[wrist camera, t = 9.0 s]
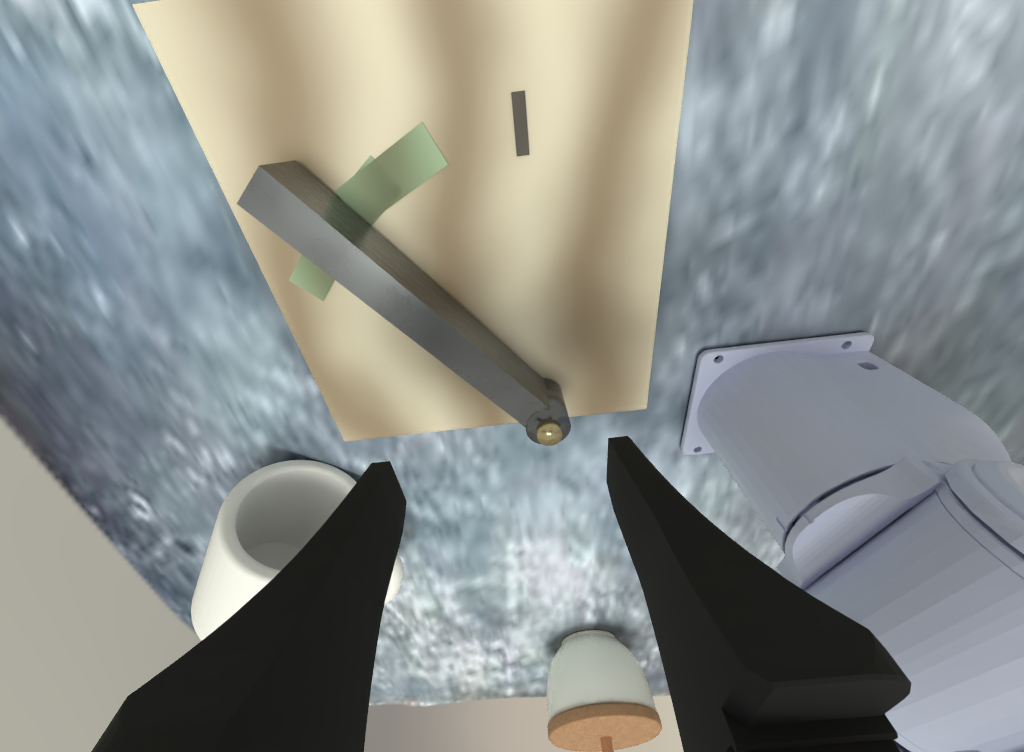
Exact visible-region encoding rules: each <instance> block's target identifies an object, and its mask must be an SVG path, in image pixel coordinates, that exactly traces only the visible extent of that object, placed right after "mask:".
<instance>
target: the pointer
mask: <svg viewBox="0 0 1024 752" xmlns="http://www.w3.org/2000/svg"><path fill="white" fill-rule="evenodd" d="M237 205H239V206H240V207H241V208H243V209H244V210H245V211H246V212H248V213H249V214H250V215H252V216H253V217H254V218H256V219H257V220H258V221H259V222H261V223H262V224H263V225H265V226H266V227H267V228H268V229H270V230H271V231H272V232H274V233H275V234H276V235H278V236H279V237H280V238H281V239H283V240H284V241H285V242H287V243H288V244H289V245H290V246H292V247H293V248H294V249H296V250H297V251H298V252H299V253H301V254H302V255H303V256H305V257H306V258H307V259H309V260H310V261H311V262H312V263H314V264H315V265H316V266H318V267H319V268H320V269H321V270H323V271H324V272H325V273H327V274H328V275H329V276H330V277H332V278H333V279H334V280H336V281H337V282H338V283H340V284H341V285H342V286H343V287H345V288H346V289H347V290H349V291H350V292H351V293H352V294H354V295H355V296H356V297H358V298H359V299H360V300H362V301H363V302H364V303H365V304H367V305H368V306H369V307H371V308H372V309H373V310H374V311H376V312H377V313H378V314H380V315H381V316H382V317H383V318H385V319H386V320H387V321H389V322H390V323H391V324H393V325H394V326H395V327H396V328H398V329H399V330H400V331H402V332H403V333H404V334H405V335H407V336H408V337H409V338H411V339H412V340H413V341H414V342H416V343H417V344H418V345H420V346H421V347H422V348H424V349H425V350H426V351H427V352H429V353H430V354H431V355H433V356H434V357H435V358H436V359H438V360H439V361H440V362H442V363H443V364H444V365H446V366H447V367H448V368H449V369H451V370H452V371H453V372H455V373H456V374H457V375H458V376H460V377H461V378H462V379H464V380H465V381H466V382H467V383H469V384H470V385H471V386H473V387H474V388H475V389H477V390H478V391H479V392H480V393H482V394H483V395H484V396H486V397H487V398H488V399H489V400H491V401H492V402H493V403H495V404H496V405H497V406H499V407H500V408H501V409H502V410H504V411H505V412H506V413H508V414H509V415H510V416H511V417H513V418H514V419H515V420H517V421H518V422H519V423H520V424H522V425H523V426H524V427H526V432H527V435H528V437H529V438H530V439H531V440H532V441H534V442H536V443H538V444H543V445H546V446H552V445H555V444H557V443H559V442H560V441H561V440H563V439H564V438H565V437H566V436H567V435H568V434H569V432H570V428H571V424H570V420H569V416H568V412H567V408H566V404H565V401H564V397H563V393H562V389H561V387H560V385H559V384H558V383H557V382H555V381H554V380H551V379H547V378H542V377H541V376H540V375H539V374H538V373H537V372H536V371H534V370H533V369H532V368H531V367H530V366H529V365H528V364H527V363H525V362H524V361H523V360H522V359H521V358H520V357H519V356H517V355H516V354H515V353H514V352H513V351H512V350H511V349H509V348H508V347H507V346H506V345H505V344H504V343H503V342H502V341H500V340H499V339H498V338H497V337H496V336H495V335H494V334H492V333H491V332H490V331H489V330H488V329H487V328H486V327H484V326H483V325H482V324H481V323H480V322H479V321H478V320H477V319H475V318H474V317H473V316H472V315H471V314H470V313H469V312H467V311H466V310H465V309H464V308H463V307H462V306H461V305H459V304H458V303H457V302H456V301H455V300H454V299H453V298H452V297H450V296H449V295H448V294H447V293H446V292H445V291H444V290H442V289H441V288H440V287H439V286H438V285H437V284H436V283H434V282H433V281H432V280H431V279H430V278H429V277H428V276H427V275H425V274H424V273H423V272H422V271H421V270H420V269H419V268H417V267H416V266H415V265H414V264H413V263H412V262H411V261H409V260H408V259H407V258H406V257H405V256H404V255H403V254H402V253H400V252H399V251H398V250H397V249H396V248H395V247H394V246H392V245H391V244H390V243H389V242H388V241H387V240H386V239H384V238H383V237H382V236H381V235H380V234H379V233H378V232H377V231H375V230H374V229H373V228H372V227H371V226H370V225H369V224H367V223H366V222H365V221H364V220H363V219H362V218H361V217H359V216H358V215H357V214H356V213H355V212H354V211H353V210H352V209H350V208H349V207H348V206H347V205H346V204H345V203H344V202H342V201H341V200H340V199H339V198H338V197H337V196H336V195H334V194H333V193H332V192H331V191H330V190H329V189H328V188H327V187H325V186H324V185H323V184H322V183H321V182H320V181H319V180H317V179H316V178H315V177H314V176H313V175H312V174H311V173H309V172H308V171H307V170H306V169H305V168H304V167H303V166H302V165H300V164H299V163H298V162H297V161H296V160H293V161H286V162H280V163H273V164H266V165H259V166H258V168H257V170H256V171H255V173H254V175H253V176H252V178H251V180H250V182H249V183H248V185H247V187H246V188H245V190H244V192H243V193H242V195H241V197H240V199H239V200H238V202H237Z"/></svg>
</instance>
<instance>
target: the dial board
mask: <svg viewBox="0 0 1024 752" xmlns="http://www.w3.org/2000/svg"><path fill="white" fill-rule="evenodd" d="M693 1H694V0H160V1H153V2H146V3H139V4H132V5H133V7H134V9H135V12H136V14H137V16H138V18H139V20H140V22H141V24H142V26H143V28H144V30H145V32H146V34H147V36H148V38H149V40H150V42H151V44H152V46H153V48H154V51H155V53H156V55H157V57H158V59H159V61H160V63H161V65H162V67H163V69H164V71H165V73H166V75H167V77H168V79H169V81H170V83H171V85H172V88H173V90H174V92H175V94H176V96H177V98H178V100H179V102H180V104H181V106H182V108H183V110H184V112H185V114H186V116H187V118H188V120H189V122H190V125H191V127H192V129H193V131H194V133H195V135H196V137H197V139H198V141H199V143H200V145H201V147H202V149H203V151H204V153H205V155H206V157H207V159H208V162H209V164H210V166H211V168H212V170H213V172H214V174H215V176H216V178H217V180H218V182H219V184H220V186H221V188H222V190H223V192H224V194H225V196H226V199H227V201H228V203H229V205H230V207H231V209H232V211H233V213H234V215H235V217H236V219H237V221H238V223H239V225H240V227H241V229H242V231H243V233H244V235H245V238H246V240H247V242H248V244H249V246H250V248H251V250H252V252H253V254H254V256H255V258H256V260H257V262H258V264H259V266H260V268H261V270H262V272H263V275H264V277H265V279H266V281H267V283H268V285H269V287H270V289H271V291H272V293H273V295H274V297H275V299H276V301H277V303H278V305H279V307H280V309H281V312H282V314H283V316H284V318H285V320H286V322H287V324H288V326H289V328H290V330H291V332H292V334H293V336H294V338H295V340H296V342H297V344H298V346H299V349H300V351H301V353H302V355H303V357H304V359H305V361H306V363H307V365H308V367H309V369H310V371H311V373H312V375H313V377H314V379H315V381H316V383H317V385H318V388H319V390H320V392H321V394H322V396H323V398H324V400H325V402H326V404H327V406H328V408H329V410H330V412H331V414H332V416H333V418H334V420H335V422H336V425H337V427H338V429H339V431H340V433H341V435H342V437H343V439H344V441H353V440H362V439H371V438H381V437H390V436H399V435H408V434H418V433H427V432H436V431H445V430H455V429H464V428H473V427H483V426H492V425H501V424H510V423H519V422H518V421H517V420H515V419H514V418H513V417H511V416H510V415H509V414H508V413H506V412H505V411H504V410H502V409H501V408H500V407H499V406H497V405H496V404H495V403H493V402H492V401H491V400H489V399H488V398H487V397H486V396H484V395H483V394H482V393H480V392H479V391H478V390H477V389H475V388H474V387H473V386H471V385H470V384H469V383H467V382H466V381H465V380H464V379H462V378H461V377H460V376H458V375H457V374H456V373H455V372H453V371H452V370H451V369H449V368H448V367H447V366H446V365H444V364H443V363H442V362H440V361H439V360H438V359H436V358H435V357H434V356H433V355H431V354H430V353H429V352H427V351H426V350H425V349H424V348H422V347H421V346H420V345H418V344H417V343H416V342H414V341H413V340H412V339H411V338H409V337H408V336H407V335H405V334H404V333H403V332H402V331H400V330H399V329H398V328H396V327H395V326H394V325H393V324H391V323H390V322H389V321H387V320H386V319H385V318H383V317H382V316H381V315H380V314H378V313H377V312H376V311H374V310H373V309H372V308H371V307H369V306H368V305H367V304H365V303H364V302H363V301H362V300H360V299H359V298H358V297H356V296H355V295H354V294H352V293H351V292H350V291H349V290H347V289H346V288H345V287H343V286H342V285H341V284H340V283H338V282H337V281H336V280H334V279H333V278H332V277H330V276H329V275H328V274H327V273H325V272H324V271H323V270H321V269H320V268H319V267H318V266H316V265H315V264H314V263H312V262H311V261H310V260H309V259H307V258H306V257H305V256H303V255H302V254H301V253H299V252H298V251H297V250H296V249H294V248H293V247H292V246H290V245H289V244H288V243H287V242H285V241H284V240H283V239H281V238H280V237H279V236H278V235H276V234H275V233H274V232H272V231H271V230H270V229H268V228H267V227H266V226H265V225H263V224H262V223H261V222H259V221H258V220H257V219H256V218H254V217H253V216H252V215H250V214H249V213H248V212H246V211H245V210H244V209H243V208H241V207H240V206H239V205H237V202H238V200H239V199H240V197H241V195H242V193H243V192H244V190H245V188H246V187H247V185H248V183H249V182H250V180H251V178H252V176H253V175H254V173H255V171H256V170H257V168H258V166H259V165H266V164H273V163H280V162H286V161H293V160H296V161H297V162H298V163H299V164H300V165H302V166H303V167H304V168H305V169H306V170H307V171H308V172H309V173H311V174H312V175H313V176H314V177H315V178H316V179H317V180H319V181H320V182H321V183H322V184H323V185H324V186H325V187H327V188H328V189H329V190H330V191H331V192H332V193H333V194H334V195H336V196H337V197H338V198H339V199H340V200H341V201H342V202H344V203H345V204H346V205H347V206H348V207H349V208H350V209H352V210H353V211H354V212H355V213H356V214H357V215H358V216H359V217H361V218H362V219H363V220H364V221H365V222H366V223H367V224H369V225H370V226H371V227H372V228H373V229H374V230H375V231H377V232H378V233H379V234H380V235H381V236H382V237H383V238H384V239H386V240H387V241H388V242H389V243H390V244H391V245H392V246H394V247H395V248H396V249H397V250H398V251H399V252H400V253H402V254H403V255H404V256H405V257H406V258H407V259H408V260H409V261H411V262H412V263H413V264H414V265H415V266H416V267H417V268H419V269H420V270H421V271H422V272H423V273H424V274H425V275H427V276H428V277H429V278H430V279H431V280H432V281H433V282H434V283H436V284H437V285H438V286H439V287H440V288H441V289H442V290H444V291H445V292H446V293H447V294H448V295H449V296H450V297H452V298H453V299H454V300H455V301H456V302H457V303H458V304H459V305H461V306H462V307H463V308H464V309H465V310H466V311H467V312H469V313H470V314H471V315H472V316H473V317H474V318H475V319H477V320H478V321H479V322H480V323H481V324H482V325H483V326H484V327H486V328H487V329H488V330H489V331H490V332H491V333H492V334H494V335H495V336H496V337H497V338H498V339H499V340H500V341H502V342H503V343H504V344H505V345H506V346H507V347H508V348H509V349H511V350H512V351H513V352H514V353H515V354H516V355H517V356H519V357H520V358H521V359H522V360H523V361H524V362H525V363H527V364H528V365H529V366H530V367H531V368H532V369H533V370H534V371H536V372H537V373H538V374H539V375H540V376H541V377H542V378H547V379H551V380H554V381H555V382H557V383H558V384H559V385H560V387H561V389H562V393H563V397H564V401H565V404H566V408H567V412H568V416H569V417H575V416H584V415H594V414H603V413H612V412H621V411H631V410H640V409H646V408H647V399H648V391H649V382H650V373H651V365H652V356H653V347H654V339H655V330H656V321H657V313H658V304H659V295H660V287H661V278H662V269H663V261H664V252H665V243H666V235H667V226H668V217H669V209H670V200H671V191H672V183H673V174H674V165H675V157H676V148H677V139H678V131H679V122H680V113H681V105H682V96H683V87H684V79H685V70H686V61H687V53H688V44H689V35H690V27H691V18H692V9H693Z"/></svg>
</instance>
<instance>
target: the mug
mask: <svg viewBox="0 0 1024 752" xmlns="http://www.w3.org/2000/svg"><path fill="white" fill-rule="evenodd" d="M356 483H357V482H356V481H355V480H354V479H353V478H351V477H350V476H349V475H348V474H346V473H345V472H343V471H342V470H340V469H338V468H336V467H334V466H331V465H328V464H325V463H322V462H317V461H311V460H289V461H283V462H278V463H274V464H271V465H268V466H265V467H263V468H261V469H258V470H257V471H255V472H253V473H251V474H250V475H248V476H247V477H245V478H244V479H243V480H241V481H240V482H239V483H238V484H237V485H236V486H235V487H234V488H233V489H232V490H231V491H230V493H229V494H228V495H227V497H226V499H225V500H224V502H223V504H222V506H221V508H220V511H219V514H218V517H217V520H216V523H215V527H214V530H213V533H212V537H211V540H210V543H209V546H208V550H207V553H206V556H205V560H204V563H203V566H202V569H201V573H200V576H199V579H198V583H197V586H196V589H195V592H194V596H193V600H192V607H191V615H192V622H193V626H194V629H195V631H196V633H197V635H198V637H199V638H200V639H201V641H202V640H203V639H205V638H206V637H207V636H208V635H210V634H211V633H212V632H213V631H215V630H216V629H217V628H218V627H219V626H221V625H222V624H223V623H224V622H225V621H227V620H228V619H229V618H230V617H231V616H232V615H234V614H235V613H236V612H237V611H238V610H239V609H240V608H241V607H242V606H244V605H245V604H246V603H247V602H248V601H249V600H250V599H251V598H252V597H254V596H255V595H256V594H257V593H258V592H259V591H260V590H261V589H262V588H263V587H265V586H266V585H267V584H268V583H269V582H270V581H271V580H272V579H273V578H274V577H275V576H276V575H277V574H278V573H279V572H280V571H281V570H282V569H283V568H284V567H285V566H286V565H287V564H288V563H289V562H290V561H291V560H292V559H293V558H294V557H295V556H296V555H297V554H298V552H299V551H300V550H301V549H302V548H303V547H304V546H305V545H306V544H307V542H308V541H309V540H310V539H311V538H312V537H313V536H314V534H315V533H316V532H317V531H318V530H319V529H320V528H321V526H322V525H323V524H324V523H325V522H326V520H327V519H328V518H329V517H330V516H331V514H332V513H333V512H334V511H335V509H336V508H337V507H338V506H339V504H340V503H341V502H342V501H343V499H344V498H345V497H346V496H347V494H348V493H349V492H350V490H351V489H352V488H353V487H354V485H355V484H356ZM403 574H404V570H403V564H402V561H401V559H400V557H399V556H398V555H397V556H396V560H395V564H394V568H393V572H392V576H391V580H390V583H389V587H388V591H387V595H386V599H385V603H387V602H389V601H390V600H392V599H393V598H394V597H395V595H396V594H397V592H398V591H399V589H400V586H401V584H402V580H403ZM385 603H384V604H385Z"/></svg>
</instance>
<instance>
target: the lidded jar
mask: <svg viewBox="0 0 1024 752" xmlns="http://www.w3.org/2000/svg"><path fill="white" fill-rule="evenodd" d="M547 712H548V722H549V723H548V737H549V740H550V741H551V743H552V744H554V745H555V746H557V747H560V748H563V749H566V750H572V751H585V752H597V751H602V752H614V750H617V749H623V748H628V747H632V746H636V745H639V744H642V743H645V742H647V741H650V740H651V739H653V738H654V737H656V736H657V735H659V733H660V732H661V730H662V725H661V721H660V718H659V715H658V713H657V712H656V708H655V704H654V701H653V697H652V694H651V691H650V688H649V685H648V682H647V680H646V677H645V675H644V673H643V671H642V669H641V667H640V665H639V663H638V662H637V660H636V659H635V657H634V655H633V654H632V653H631V652H630V651H629V650H628V649H627V648H626V647H625V646H624V645H623V644H622V643H620V642H619V641H618V640H616V638H615V636H614V635H613V634H612V633H610V632H607V631H603V630H584V631H579V632H576V633H573V634H571V635H569V636H567V637H566V638H564V639H563V641H562V642H561V647H560V648H559V650H558V651H557V653H556V654H555V656H554V658H553V660H552V663H551V666H550V669H549V674H548V681H547Z"/></svg>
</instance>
